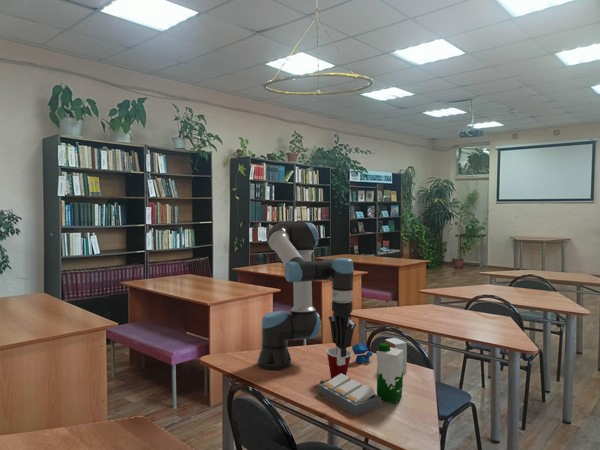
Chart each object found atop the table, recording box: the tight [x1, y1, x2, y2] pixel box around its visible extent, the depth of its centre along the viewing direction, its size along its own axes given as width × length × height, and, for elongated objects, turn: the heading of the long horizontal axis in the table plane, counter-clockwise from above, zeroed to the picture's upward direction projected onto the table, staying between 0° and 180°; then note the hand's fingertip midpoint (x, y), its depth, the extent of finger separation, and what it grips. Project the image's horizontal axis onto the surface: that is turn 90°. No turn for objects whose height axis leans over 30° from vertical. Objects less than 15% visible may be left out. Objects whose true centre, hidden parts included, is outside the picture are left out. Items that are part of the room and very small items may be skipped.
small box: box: [384, 337, 408, 373], centre depth 184 cm, size 8×6×13 cm
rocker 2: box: [335, 379, 363, 397], centre depth 154 cm, size 5×9×2 cm, turn 124°
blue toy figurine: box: [351, 342, 374, 364], centre depth 195 cm, size 7×9×12 cm
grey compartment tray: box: [318, 380, 382, 417], centre depth 157 cm, size 27×12×4 cm, turn 34°
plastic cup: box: [325, 347, 353, 380], centre depth 173 cm, size 11×11×12 cm
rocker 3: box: [346, 384, 375, 404], centre depth 149 cm, size 5×9×2 cm, turn 124°
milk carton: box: [375, 342, 404, 405], centre depth 156 cm, size 9×9×20 cm
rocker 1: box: [324, 373, 351, 390], centre depth 159 cm, size 5×9×2 cm, turn 124°
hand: (341, 364), depth 154 cm, fingers closed
